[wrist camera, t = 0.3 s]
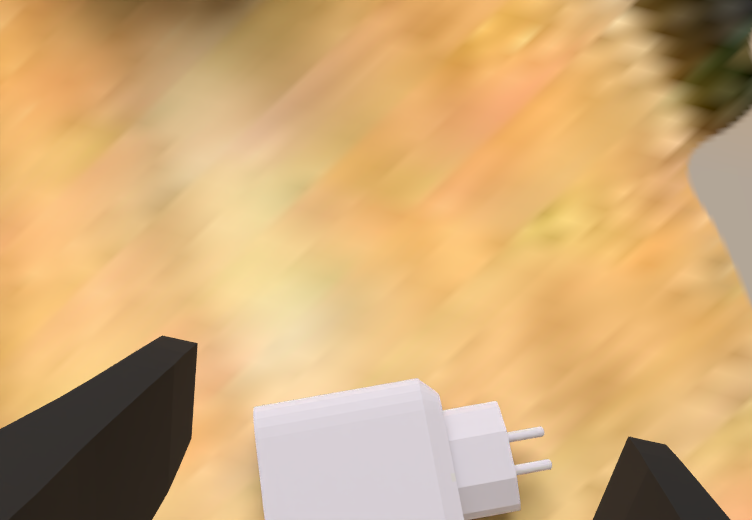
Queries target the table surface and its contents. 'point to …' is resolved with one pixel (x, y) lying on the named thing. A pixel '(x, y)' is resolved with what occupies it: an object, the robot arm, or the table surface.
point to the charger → (387, 457)
